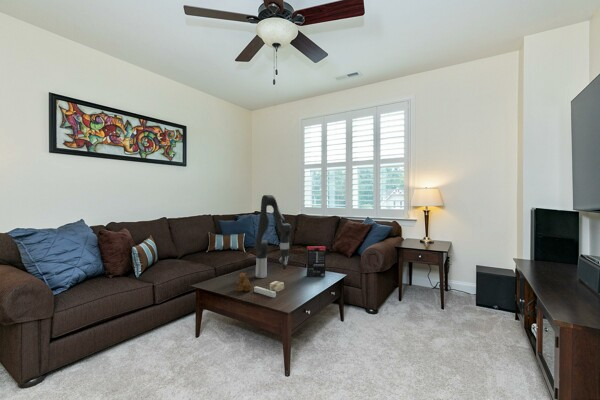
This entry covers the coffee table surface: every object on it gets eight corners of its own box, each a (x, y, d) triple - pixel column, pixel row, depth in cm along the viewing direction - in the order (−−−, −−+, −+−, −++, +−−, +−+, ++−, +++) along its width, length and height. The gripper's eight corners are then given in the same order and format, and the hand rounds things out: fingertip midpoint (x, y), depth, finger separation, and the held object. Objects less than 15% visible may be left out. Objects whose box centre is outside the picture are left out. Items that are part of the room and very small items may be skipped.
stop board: (254, 291, 215) (254, 287, 215) (256, 290, 217) (256, 286, 217) (273, 297, 203) (273, 292, 203) (275, 296, 205) (275, 291, 205)
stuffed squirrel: (244, 286, 226) (244, 270, 226) (255, 290, 217) (255, 273, 217) (233, 289, 219) (233, 273, 218) (245, 294, 210) (245, 276, 209)
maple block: (269, 289, 219) (269, 283, 219) (275, 287, 226) (275, 280, 226) (277, 291, 215) (277, 285, 215) (283, 288, 222) (283, 282, 222)
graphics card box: (324, 274, 260) (324, 245, 259) (325, 276, 253) (326, 246, 252) (306, 275, 258) (306, 245, 257) (307, 277, 251) (307, 247, 251)
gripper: (286, 246, 235) (286, 266, 235) (275, 248, 224) (275, 270, 225) (293, 247, 230) (293, 268, 231) (282, 249, 220) (282, 271, 220)
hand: (284, 269), depth 228 cm, fingers closed
